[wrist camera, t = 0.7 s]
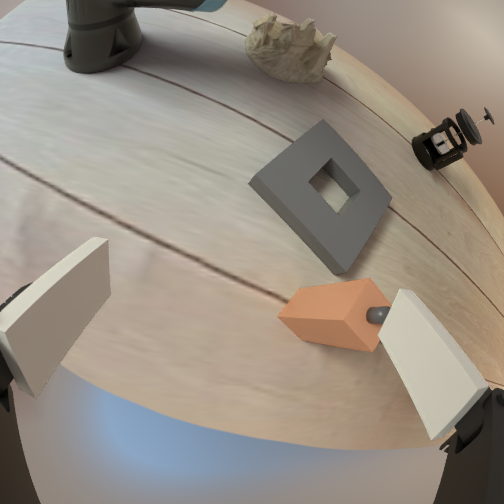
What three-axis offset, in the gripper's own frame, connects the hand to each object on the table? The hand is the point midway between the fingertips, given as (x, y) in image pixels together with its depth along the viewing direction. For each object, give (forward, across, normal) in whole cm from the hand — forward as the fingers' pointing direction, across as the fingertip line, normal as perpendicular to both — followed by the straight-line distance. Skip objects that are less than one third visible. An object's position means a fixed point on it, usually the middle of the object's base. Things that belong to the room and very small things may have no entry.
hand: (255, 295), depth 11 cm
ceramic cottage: (+48, +2, +26) cm, 55 cm away
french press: (+51, +41, +15) cm, 67 cm away
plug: (+21, +9, -14) cm, 27 cm away
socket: (+32, +12, +1) cm, 34 cm away
